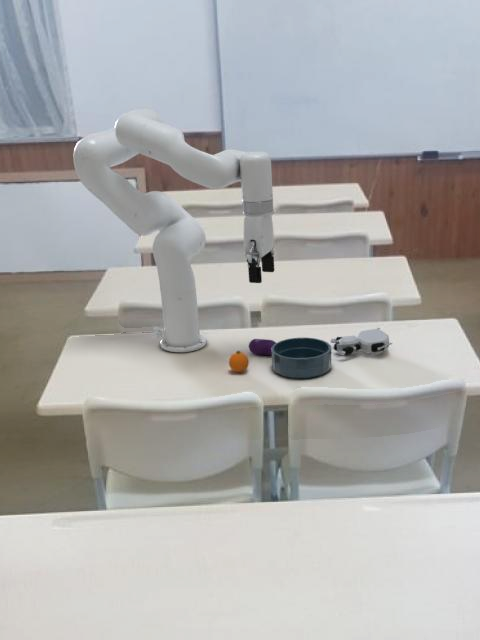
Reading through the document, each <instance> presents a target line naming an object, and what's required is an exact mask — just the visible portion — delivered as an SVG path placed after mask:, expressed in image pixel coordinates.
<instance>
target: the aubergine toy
mask: <svg viewBox="0 0 480 640" xmlns="http://www.w3.org/2000/svg"><path fill="white" fill-rule="evenodd" d="M275 343H277V342H276V341H274V340H272V339H264V338H253V339H251V340H250V341H249V342H248V349H249V351H250V353H252V354H254V355H262V356H263V355H264V356H272V351H271V350H272V346H273V345H274V344H275Z"/></svg>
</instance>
